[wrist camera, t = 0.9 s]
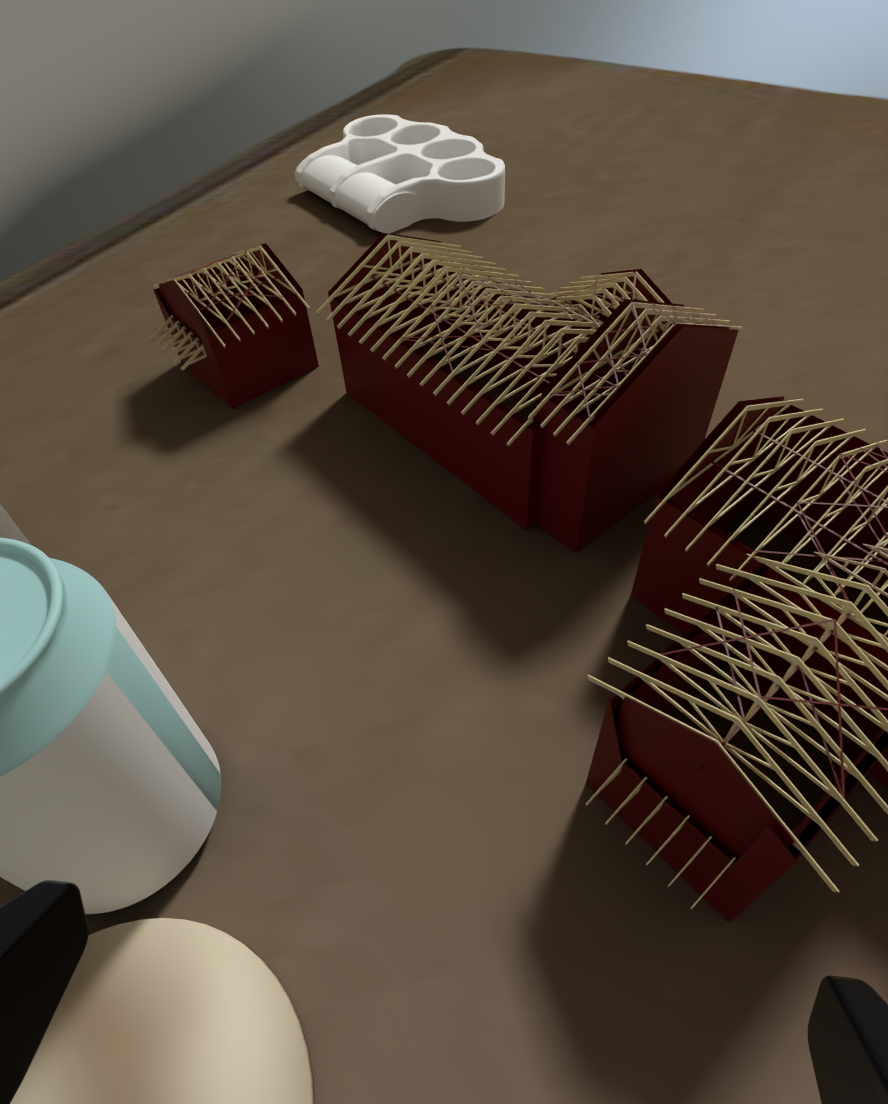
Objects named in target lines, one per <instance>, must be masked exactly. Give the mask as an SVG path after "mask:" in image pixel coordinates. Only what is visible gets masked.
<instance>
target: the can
mask: <svg viewBox="0 0 888 1104" xmlns="http://www.w3.org/2000/svg"><path fill="white" fill-rule="evenodd" d="M220 795H221V773H220V768H219V764H218V760H217V757H216V755H215V753H214V750H213V749H212V747H211V745H210V744H209V742H208V741H207V739H206V738H205V736H204V735H203V733H202V732H201V730H200V729H199V728H198V726H197V725H196V723H195V722H194V720H193V719H192V717H191V716H190V714H189V713H188V711H187V710H186V708H185V707H184V705H183V704H182V703H181V701H180V700H179V698H178V697H177V695H176V694H175V692H174V691H173V689H172V688H171V686H170V685H169V683H168V682H167V681H166V679H165V678H164V676H163V675H162V673H161V672H160V670H159V669H158V667H157V666H156V664H155V663H154V661H153V660H152V658H151V657H150V656H149V654H148V653H147V651H146V650H145V648H144V647H143V645H142V644H141V642H140V641H139V639H138V638H137V636H136V635H135V633H134V632H133V631H132V629H131V628H130V626H129V625H128V623H127V622H126V620H125V619H124V617H123V616H122V614H121V613H120V611H119V610H118V609H117V607H116V606H115V604H114V603H113V601H112V600H111V598H110V597H109V595H108V594H107V592H106V591H105V590H104V588H103V587H102V586H101V585H100V583H98V582H97V581H96V580H95V579H94V578H93V577H92V576H90V575H89V574H87V573H86V572H84V571H83V570H81V569H79V568H78V567H76V566H74V565H71V564H69V563H66V562H63V561H60V560H56V559H51V558H48V557H47V556H46V555H45V554H44V553H43V552H42V551H40V550H39V549H37V548H35V547H34V546H32V545H29V544H27V543H24V542H21V541H17V540H14V539H7V538H0V877H1V878H3V879H5V880H6V881H8V882H10V883H12V884H14V885H15V886H17V887H19V888H21V889H23V890H24V891H26V890H28V889H30V888H31V887H33V886H34V885H36V884H38V883H40V882H42V881H45V880H55V881H63V882H71V883H74V884H76V885H77V886H78V888H79V890H80V893H81V898H82V902H83V906H84V911H85V914H97V913H105V912H110V911H115V910H118V909H121V908H125V907H127V906H130V905H132V904H135V903H137V902H139V901H141V900H143V899H145V898H147V897H148V896H150V895H152V894H153V893H155V892H157V891H158V890H159V889H161V888H162V887H164V886H165V885H166V884H167V883H169V882H170V881H171V880H172V879H173V878H175V877H176V876H177V875H178V874H179V873H180V872H181V871H182V870H183V869H184V868H185V867H186V866H187V864H188V863H189V862H190V861H191V860H192V859H193V857H194V856H195V855H196V853H197V852H198V851H199V849H200V847H201V846H202V844H203V843H204V841H205V839H206V837H207V836H208V834H209V832H210V830H211V827H212V825H213V823H214V820H215V817H216V814H217V811H218V806H219V802H220Z"/></svg>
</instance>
